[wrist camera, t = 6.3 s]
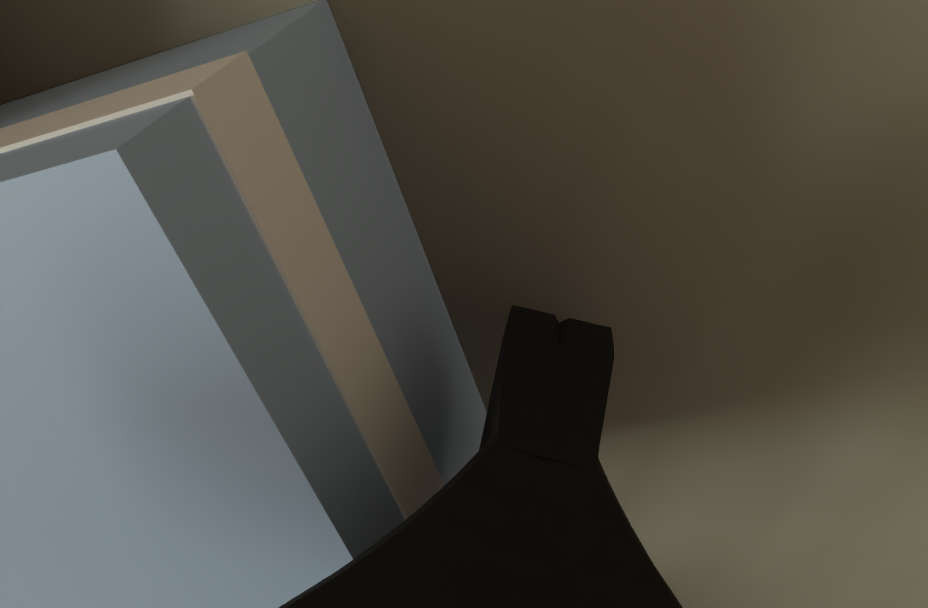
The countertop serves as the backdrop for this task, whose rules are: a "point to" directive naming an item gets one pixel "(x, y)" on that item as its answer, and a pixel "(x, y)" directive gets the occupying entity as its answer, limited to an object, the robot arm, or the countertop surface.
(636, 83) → the countertop surface
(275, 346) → the carton
